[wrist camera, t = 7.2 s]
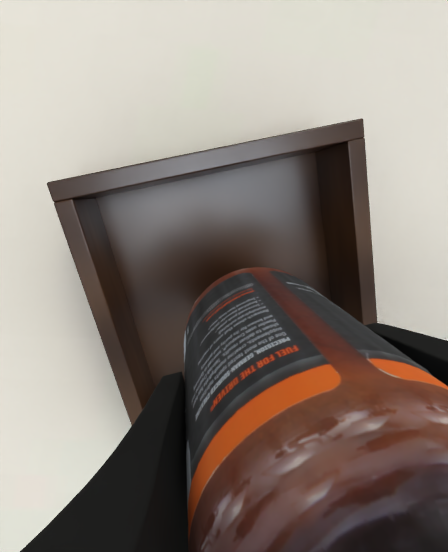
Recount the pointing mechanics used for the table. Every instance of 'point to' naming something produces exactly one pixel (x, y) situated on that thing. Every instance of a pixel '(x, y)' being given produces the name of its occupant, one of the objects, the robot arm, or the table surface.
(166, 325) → the crate
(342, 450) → the supplement bottle
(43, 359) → the table surface
